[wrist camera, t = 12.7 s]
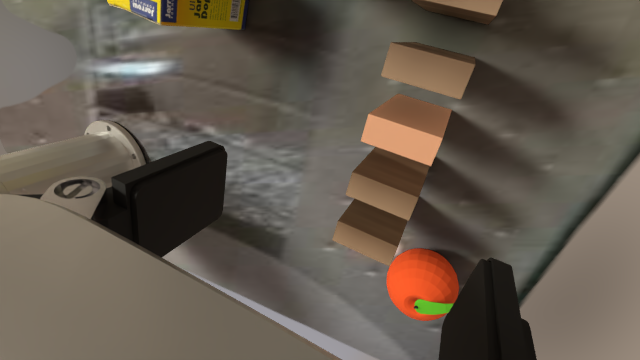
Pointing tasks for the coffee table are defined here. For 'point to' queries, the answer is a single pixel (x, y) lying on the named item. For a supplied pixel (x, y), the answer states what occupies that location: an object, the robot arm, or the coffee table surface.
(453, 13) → the domino
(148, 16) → the supplement box
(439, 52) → the domino
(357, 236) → the domino
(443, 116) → the domino
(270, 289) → the coffee table surface
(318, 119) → the coffee table surface
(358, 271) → the coffee table surface
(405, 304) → the clementine
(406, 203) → the domino
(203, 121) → the coffee table surface
